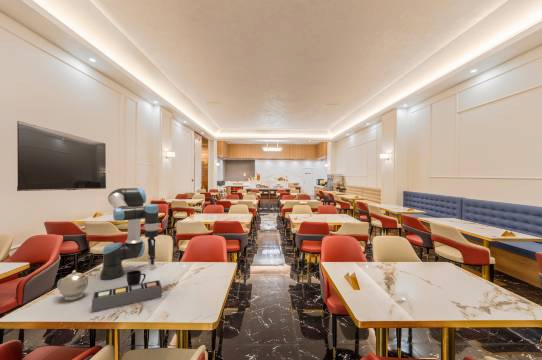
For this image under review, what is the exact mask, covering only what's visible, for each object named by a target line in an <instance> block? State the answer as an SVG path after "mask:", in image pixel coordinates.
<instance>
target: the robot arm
mask: <svg viewBox="0 0 542 360" xmlns="http://www.w3.org/2000/svg"><path fill="white" fill-rule="evenodd" d="M107 201H108V203H109V204H110V205H111V206H112V208H113V210H112V218H113V220H114V221H116V222H122V221H123V222H124V221H127V239H126V240H125V242H124V244H123V243H122V242H113V243H110V244H107V245H105V246H104V247H103V249H102V256H103V257H102V268H101V271H100V273H99V279H100V280H101V281H102V280H103V281H109V280H110V281H111V280H115V279H116V280H117V279H119V278H122V277H123V276H125V268H124V267H123V264H122V262H123V261H126V260H130V259H137V258H140V257H143V256H144V253H145V248H146V246H145V245H146V244H145V242H144V241H143V239H142V238H141V225H142V224H141V222H142V220H144V224H143V227H144V230H145V231H144V238H147V246H148V247H147V248H148V249H147V257H148V259H147V260H148V261H147V263H148V267H149V271H153V270H154V271H155V269H156V268H155V267H156V239H155V237H159V205H158V204H157V203H156V204H154V203H153V204H152V203H151V204H145V203H146V202H147V195H146V191H145V189H144V188H140V187H126V188H123V187H122V188H117V189H114V190H112V191H111V192H110V193H109V195H108V196H107ZM144 204H145V206H144Z"/></svg>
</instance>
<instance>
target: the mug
mask: <svg viewBox="0 0 542 360" xmlns="http://www.w3.org/2000/svg"><path fill="white" fill-rule="evenodd" d="M142 276H143V277H142ZM146 276H147V275H146V273H142V271H141V270H130V271H129V272H127V273H126V282H127V286H130V285H136V284H141V283H144V281H145V280H146ZM141 277H142V281H141Z"/></svg>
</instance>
